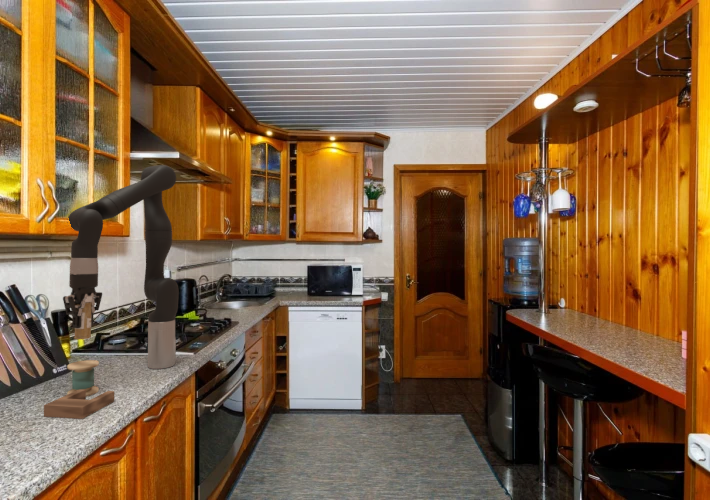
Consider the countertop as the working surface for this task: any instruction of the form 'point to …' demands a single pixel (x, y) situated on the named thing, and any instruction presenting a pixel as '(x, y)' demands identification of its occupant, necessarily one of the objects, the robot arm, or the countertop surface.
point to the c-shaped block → (77, 405)
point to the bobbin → (83, 376)
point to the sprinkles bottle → (84, 321)
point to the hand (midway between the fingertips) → (82, 326)
